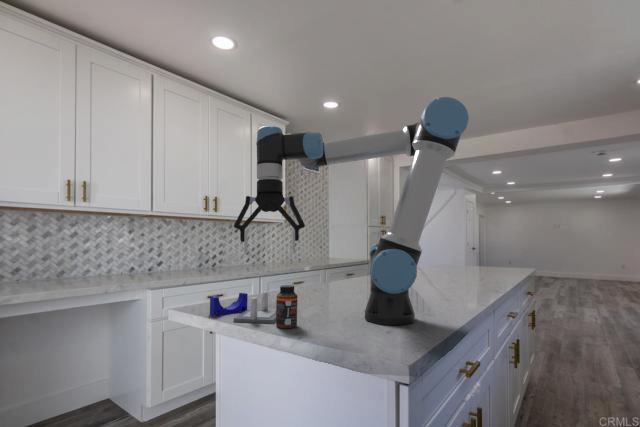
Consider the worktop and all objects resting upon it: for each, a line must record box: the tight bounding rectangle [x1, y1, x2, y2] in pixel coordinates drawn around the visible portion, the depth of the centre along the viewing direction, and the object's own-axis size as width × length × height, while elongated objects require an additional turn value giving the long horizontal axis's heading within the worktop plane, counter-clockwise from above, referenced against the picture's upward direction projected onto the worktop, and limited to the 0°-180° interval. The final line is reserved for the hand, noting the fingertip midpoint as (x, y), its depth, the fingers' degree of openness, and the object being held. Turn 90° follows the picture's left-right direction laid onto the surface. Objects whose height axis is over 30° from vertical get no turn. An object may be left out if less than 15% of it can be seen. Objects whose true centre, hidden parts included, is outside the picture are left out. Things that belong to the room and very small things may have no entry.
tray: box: [233, 291, 276, 324], centre depth 107 cm, size 12×13×7 cm
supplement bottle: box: [275, 284, 298, 329], centre depth 97 cm, size 6×6×11 cm
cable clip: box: [209, 292, 248, 317], centre depth 114 cm, size 12×4×6 cm, turn 133°
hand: (270, 253), depth 99 cm, fingers open, 13 cm apart
